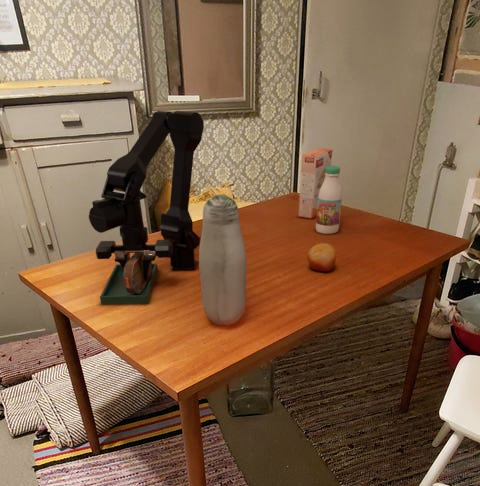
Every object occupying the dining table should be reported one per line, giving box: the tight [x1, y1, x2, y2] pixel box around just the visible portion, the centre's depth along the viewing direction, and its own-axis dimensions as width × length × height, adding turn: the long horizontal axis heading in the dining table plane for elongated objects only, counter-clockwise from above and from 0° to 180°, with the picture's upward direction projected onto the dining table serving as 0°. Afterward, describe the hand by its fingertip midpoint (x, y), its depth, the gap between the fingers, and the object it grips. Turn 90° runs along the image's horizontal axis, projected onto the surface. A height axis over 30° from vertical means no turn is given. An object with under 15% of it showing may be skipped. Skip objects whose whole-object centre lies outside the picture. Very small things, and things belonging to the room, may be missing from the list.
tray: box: [99, 263, 159, 306], centre depth 131 cm, size 12×21×2 cm, turn 1°
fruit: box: [306, 242, 337, 272], centre depth 138 cm, size 8×8×8 cm
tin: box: [123, 253, 153, 294], centre depth 127 cm, size 15×3×8 cm, turn 170°
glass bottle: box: [198, 194, 247, 326], centre depth 107 cm, size 10×10×28 cm
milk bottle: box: [315, 165, 343, 235], centre depth 160 cm, size 8×8×20 cm
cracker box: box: [297, 147, 333, 220], centre depth 176 cm, size 14×6×21 cm, turn 149°
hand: (139, 281), depth 129 cm, fingers closed on tin, 3 cm apart
